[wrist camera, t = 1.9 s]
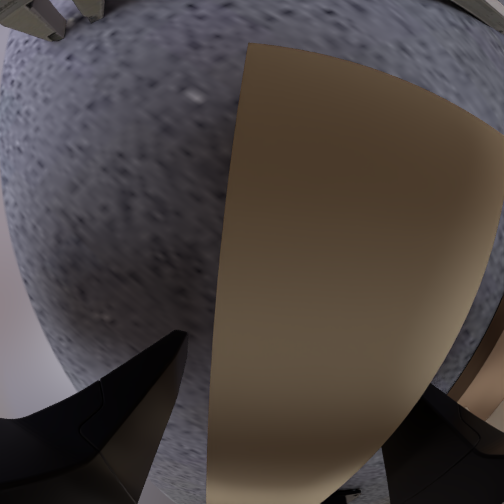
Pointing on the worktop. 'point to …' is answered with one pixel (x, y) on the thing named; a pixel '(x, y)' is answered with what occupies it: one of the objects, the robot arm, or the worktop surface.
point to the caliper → (92, 6)
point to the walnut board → (484, 372)
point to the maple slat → (338, 268)
